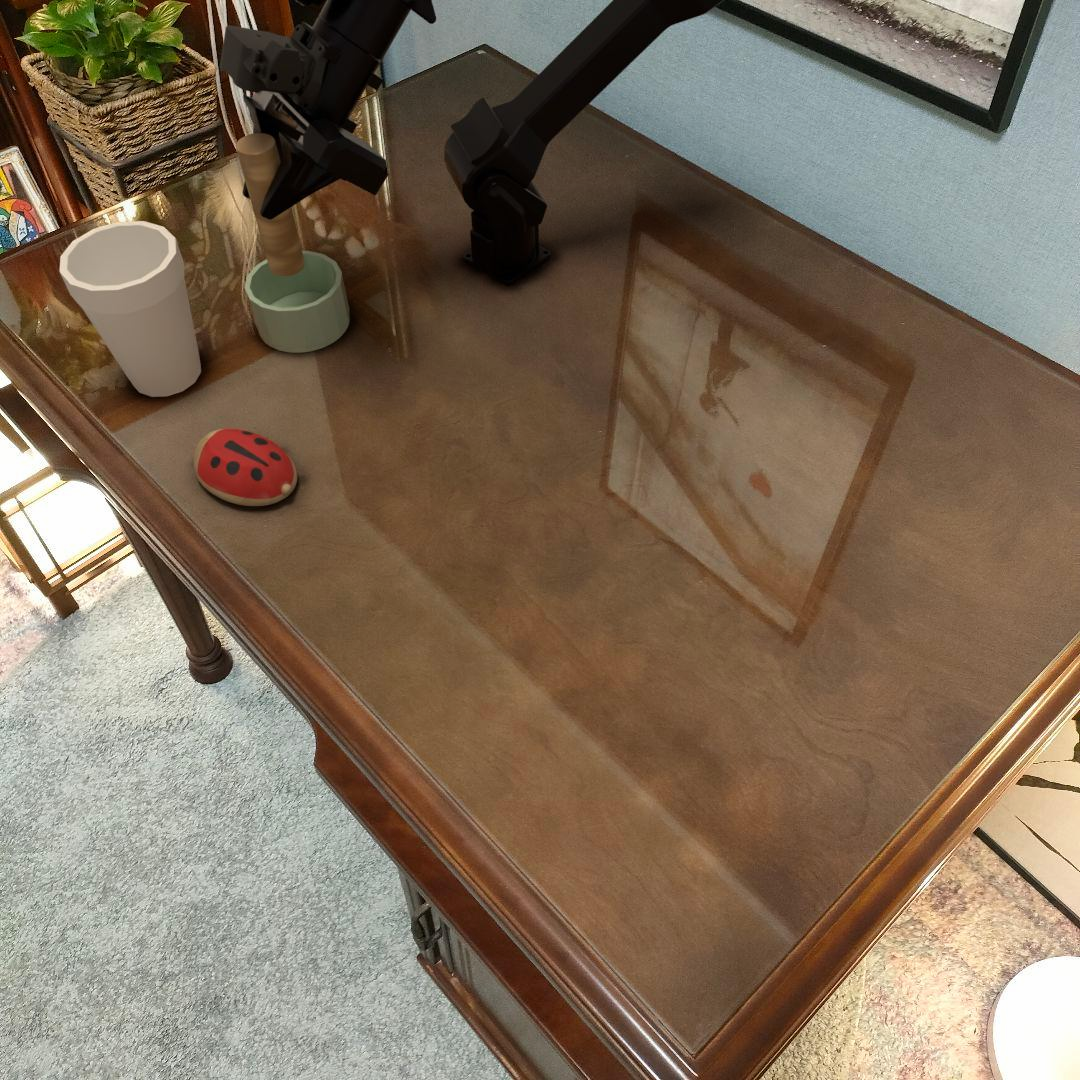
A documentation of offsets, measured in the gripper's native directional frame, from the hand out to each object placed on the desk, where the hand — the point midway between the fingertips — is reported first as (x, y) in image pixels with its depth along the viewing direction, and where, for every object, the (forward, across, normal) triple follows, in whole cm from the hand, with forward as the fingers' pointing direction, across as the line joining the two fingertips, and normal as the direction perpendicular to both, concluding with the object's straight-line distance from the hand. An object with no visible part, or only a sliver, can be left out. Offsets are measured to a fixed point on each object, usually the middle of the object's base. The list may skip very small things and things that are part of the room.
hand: (256, 207), depth 87 cm
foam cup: (+18, -1, +1) cm, 18 cm away
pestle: (+4, 0, +6) cm, 7 cm away
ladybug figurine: (+18, +15, +2) cm, 23 cm away
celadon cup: (+8, 0, +11) cm, 14 cm away
